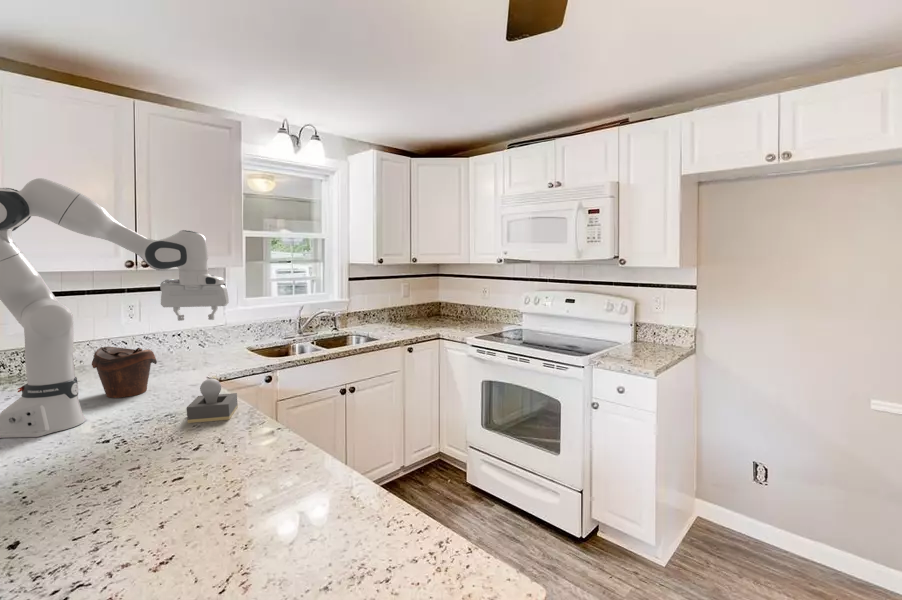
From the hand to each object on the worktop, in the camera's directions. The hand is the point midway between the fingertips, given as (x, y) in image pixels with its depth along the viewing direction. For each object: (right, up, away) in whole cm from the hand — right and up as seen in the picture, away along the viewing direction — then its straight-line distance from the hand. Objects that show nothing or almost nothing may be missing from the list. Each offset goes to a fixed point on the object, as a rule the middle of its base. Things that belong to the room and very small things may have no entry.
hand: (196, 320), depth 156 cm
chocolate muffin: (-37, -29, +19) cm, 50 cm away
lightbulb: (+9, -30, -6) cm, 32 cm away
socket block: (+9, -31, -6) cm, 33 cm away
